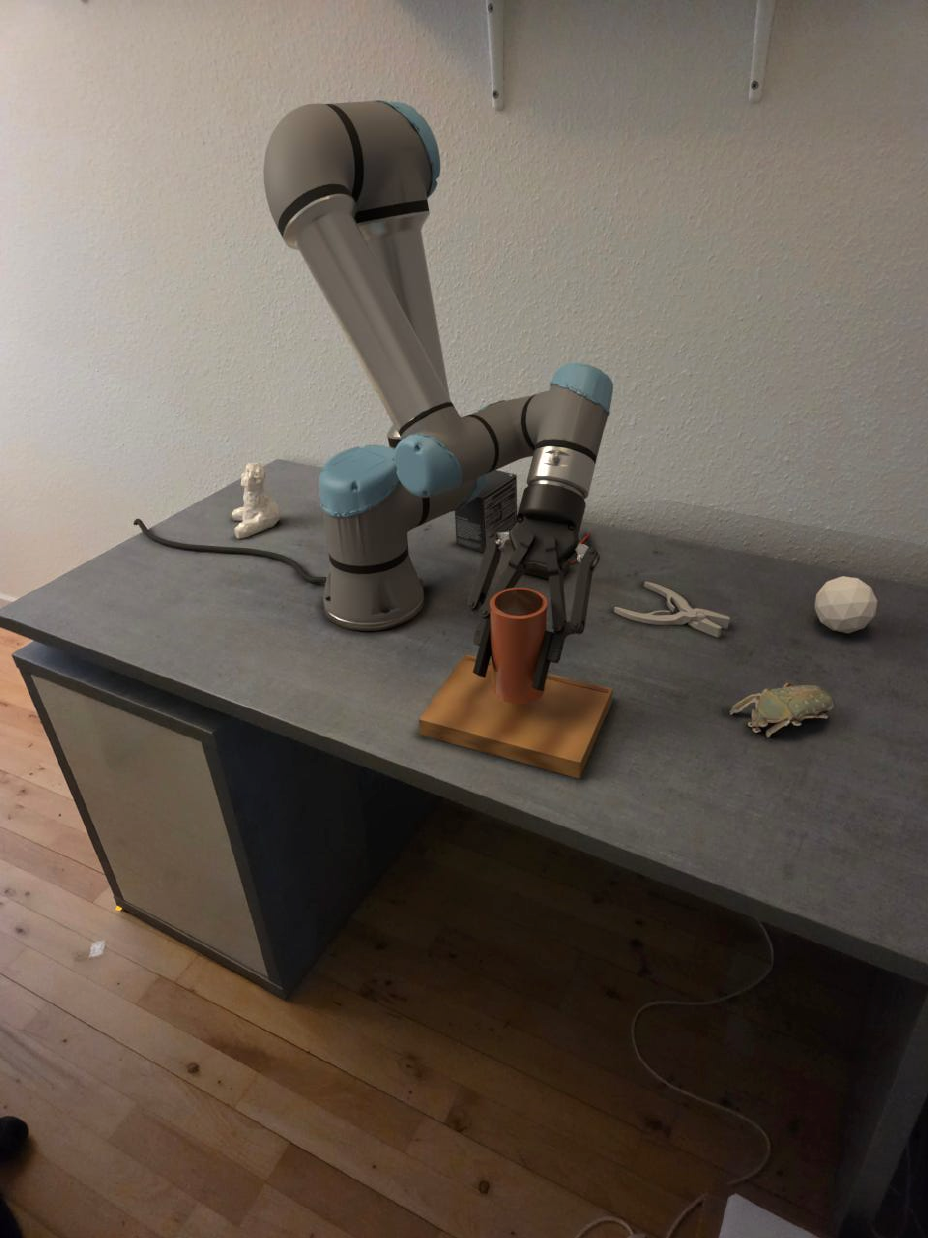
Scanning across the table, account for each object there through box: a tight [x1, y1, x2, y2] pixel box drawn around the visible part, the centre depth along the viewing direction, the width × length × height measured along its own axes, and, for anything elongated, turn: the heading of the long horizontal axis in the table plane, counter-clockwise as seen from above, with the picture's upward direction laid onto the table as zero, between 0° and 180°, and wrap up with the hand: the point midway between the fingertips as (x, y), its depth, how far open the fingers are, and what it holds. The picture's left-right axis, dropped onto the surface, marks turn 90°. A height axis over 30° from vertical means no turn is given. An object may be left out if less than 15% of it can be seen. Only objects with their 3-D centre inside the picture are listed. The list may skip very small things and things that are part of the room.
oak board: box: [418, 654, 614, 779], centre depth 97 cm, size 20×14×3 cm
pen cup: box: [490, 587, 548, 704], centre depth 91 cm, size 6×6×12 cm
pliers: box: [613, 581, 731, 638], centre depth 115 cm, size 10×2×15 cm
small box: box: [454, 469, 518, 554], centre depth 134 cm, size 11×6×10 cm, turn 144°
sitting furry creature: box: [231, 461, 281, 540], centre depth 141 cm, size 10×9×12 cm
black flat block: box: [525, 530, 594, 580], centre depth 131 cm, size 18×12×3 cm, turn 145°
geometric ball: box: [814, 575, 878, 634], centre depth 109 cm, size 8×8×8 cm
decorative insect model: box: [728, 682, 835, 738], centre depth 95 cm, size 9×11×5 cm
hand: (507, 681), depth 90 cm, fingers closed on pen cup, 6 cm apart
